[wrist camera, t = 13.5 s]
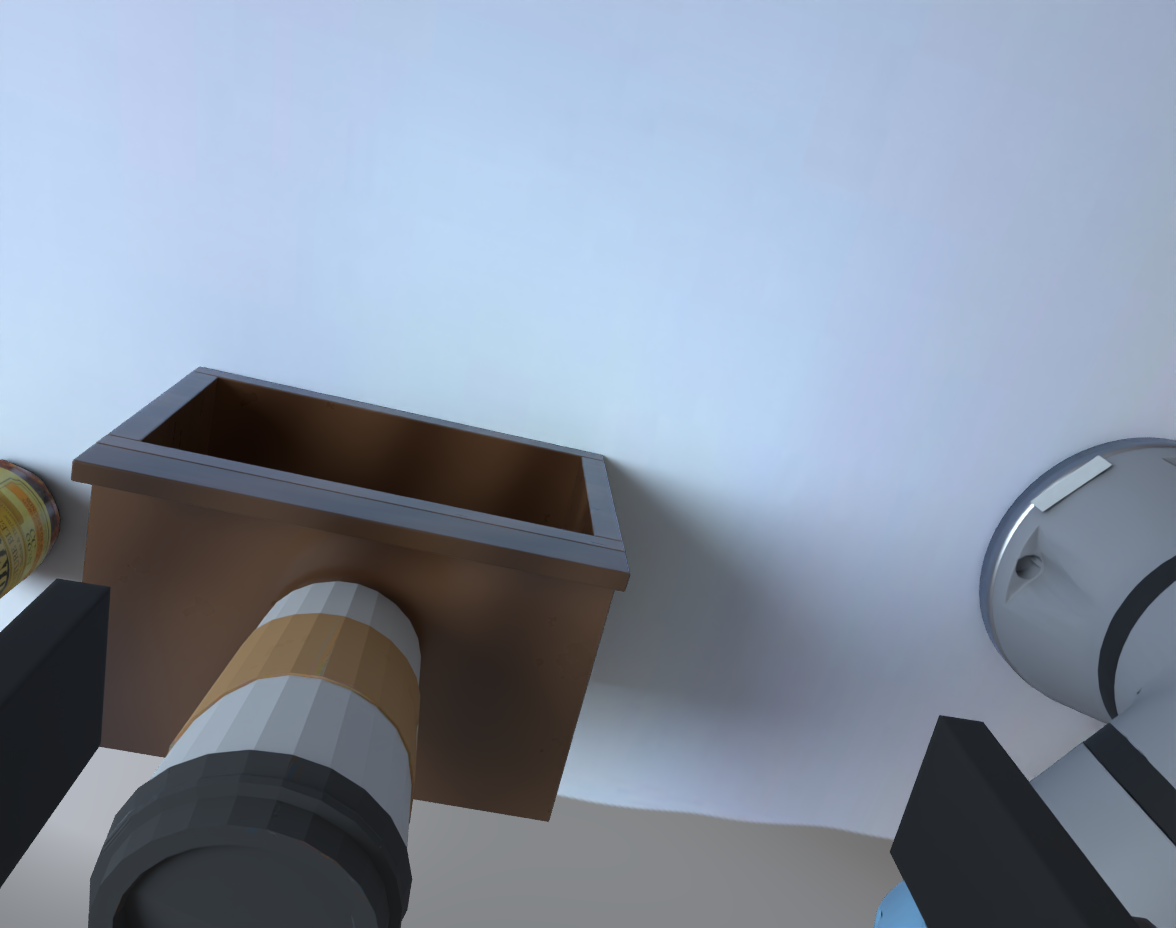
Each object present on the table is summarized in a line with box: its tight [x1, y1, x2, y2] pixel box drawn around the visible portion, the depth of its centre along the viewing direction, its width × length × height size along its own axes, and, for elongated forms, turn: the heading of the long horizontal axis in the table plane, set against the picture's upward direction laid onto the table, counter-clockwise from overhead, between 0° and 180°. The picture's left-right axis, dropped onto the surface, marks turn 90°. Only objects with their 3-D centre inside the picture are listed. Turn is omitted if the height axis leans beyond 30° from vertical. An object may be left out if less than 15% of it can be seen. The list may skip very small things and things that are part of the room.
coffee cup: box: [88, 581, 421, 928], centre depth 32 cm, size 8×8×15 cm
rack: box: [71, 367, 630, 822], centre depth 44 cm, size 20×13×14 cm, turn 76°
